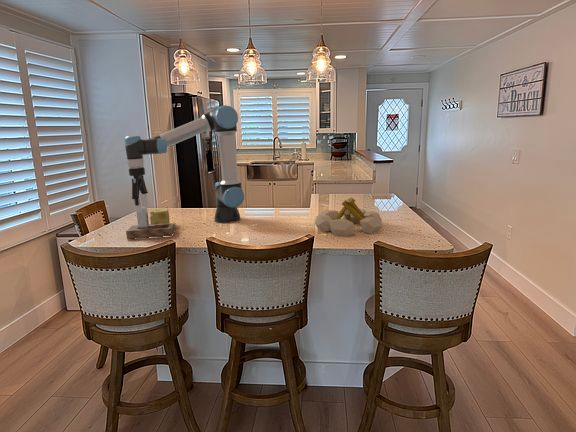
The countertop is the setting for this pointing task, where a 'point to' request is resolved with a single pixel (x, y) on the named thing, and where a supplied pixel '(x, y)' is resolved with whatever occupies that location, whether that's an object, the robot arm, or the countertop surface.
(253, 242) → the countertop surface
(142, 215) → the peg
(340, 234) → the campfire
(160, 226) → the keyhole plate
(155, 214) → the cheese
